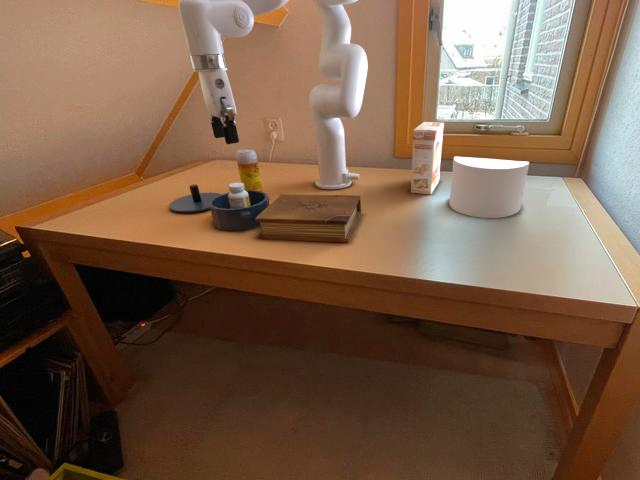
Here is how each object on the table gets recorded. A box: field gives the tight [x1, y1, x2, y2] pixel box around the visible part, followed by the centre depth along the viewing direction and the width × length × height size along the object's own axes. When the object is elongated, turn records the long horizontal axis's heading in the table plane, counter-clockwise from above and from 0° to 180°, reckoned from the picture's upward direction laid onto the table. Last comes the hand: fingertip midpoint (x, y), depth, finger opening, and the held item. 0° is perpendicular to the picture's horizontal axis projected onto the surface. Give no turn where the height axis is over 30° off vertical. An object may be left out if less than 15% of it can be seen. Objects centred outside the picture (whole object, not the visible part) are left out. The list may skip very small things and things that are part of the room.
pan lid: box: [168, 183, 223, 213], centre depth 114 cm, size 16×16×6 cm
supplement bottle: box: [228, 182, 250, 209], centre depth 101 cm, size 5×5×10 cm
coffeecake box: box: [410, 121, 445, 195], centre depth 119 cm, size 15×7×20 cm, turn 160°
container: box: [448, 155, 530, 219], centre depth 105 cm, size 20×20×13 cm
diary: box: [255, 193, 362, 243], centre depth 98 cm, size 23×19×6 cm
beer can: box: [235, 148, 264, 192], centre depth 116 cm, size 6×6×15 cm
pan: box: [209, 190, 271, 232], centre depth 103 cm, size 16×21×6 cm
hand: (226, 140), depth 95 cm, fingers open, 9 cm apart
